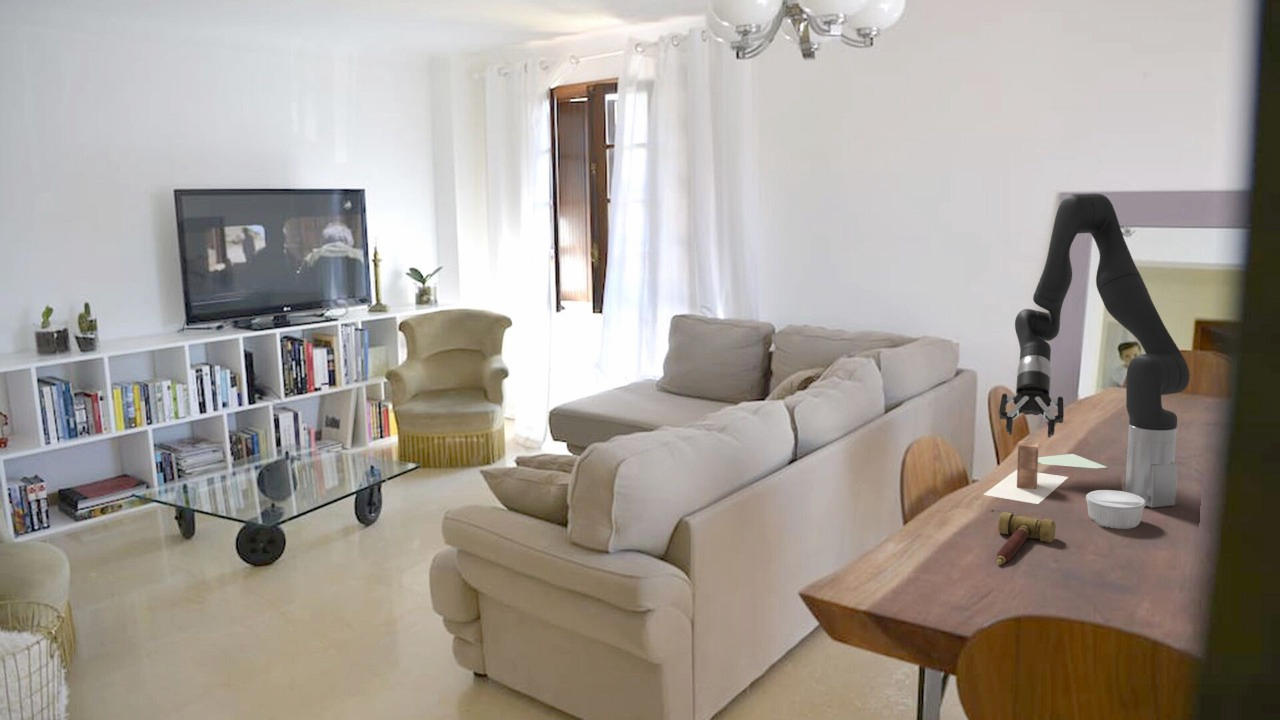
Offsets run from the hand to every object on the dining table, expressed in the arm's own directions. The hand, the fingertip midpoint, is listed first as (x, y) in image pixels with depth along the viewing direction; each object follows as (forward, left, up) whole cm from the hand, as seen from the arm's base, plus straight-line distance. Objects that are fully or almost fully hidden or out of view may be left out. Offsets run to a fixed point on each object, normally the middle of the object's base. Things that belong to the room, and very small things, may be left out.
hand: (1029, 434), depth 222 cm
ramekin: (-29, 0, -12) cm, 31 cm away
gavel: (-36, +28, -13) cm, 47 cm away
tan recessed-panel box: (-5, +4, -11) cm, 12 cm away
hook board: (-5, +4, -12) cm, 13 cm away
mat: (+10, -18, -12) cm, 24 cm away
